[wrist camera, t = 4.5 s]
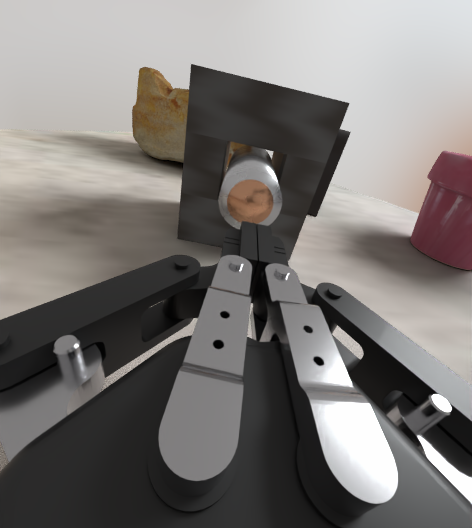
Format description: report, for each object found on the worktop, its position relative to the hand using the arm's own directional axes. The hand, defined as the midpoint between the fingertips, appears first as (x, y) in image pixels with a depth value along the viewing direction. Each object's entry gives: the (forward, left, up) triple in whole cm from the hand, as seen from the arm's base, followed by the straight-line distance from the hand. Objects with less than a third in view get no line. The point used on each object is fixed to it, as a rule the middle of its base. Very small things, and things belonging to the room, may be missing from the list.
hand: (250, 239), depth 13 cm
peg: (0, -10, -2) cm, 10 cm away
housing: (0, -16, -7) cm, 18 cm away
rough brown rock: (+9, -42, -8) cm, 44 cm away
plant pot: (-31, -22, -8) cm, 39 cm away
